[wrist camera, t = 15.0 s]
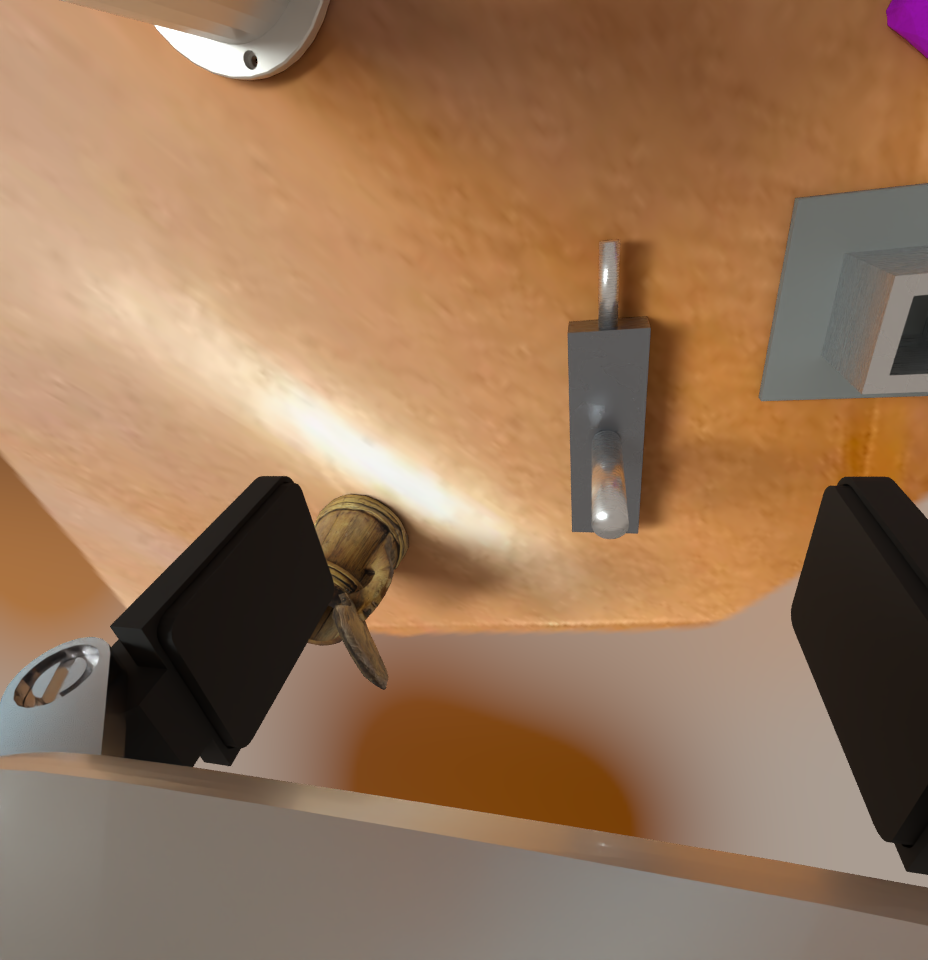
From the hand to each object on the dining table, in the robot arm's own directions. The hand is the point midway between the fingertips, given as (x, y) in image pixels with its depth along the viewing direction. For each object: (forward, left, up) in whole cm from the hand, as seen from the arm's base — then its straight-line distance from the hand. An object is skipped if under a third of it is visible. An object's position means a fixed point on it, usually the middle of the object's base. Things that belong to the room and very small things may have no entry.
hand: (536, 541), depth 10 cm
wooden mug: (+22, -18, -28) cm, 40 cm away
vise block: (+9, +2, -28) cm, 30 cm away
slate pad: (+4, +18, -28) cm, 34 cm away
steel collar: (+4, +18, -28) cm, 33 cm away
